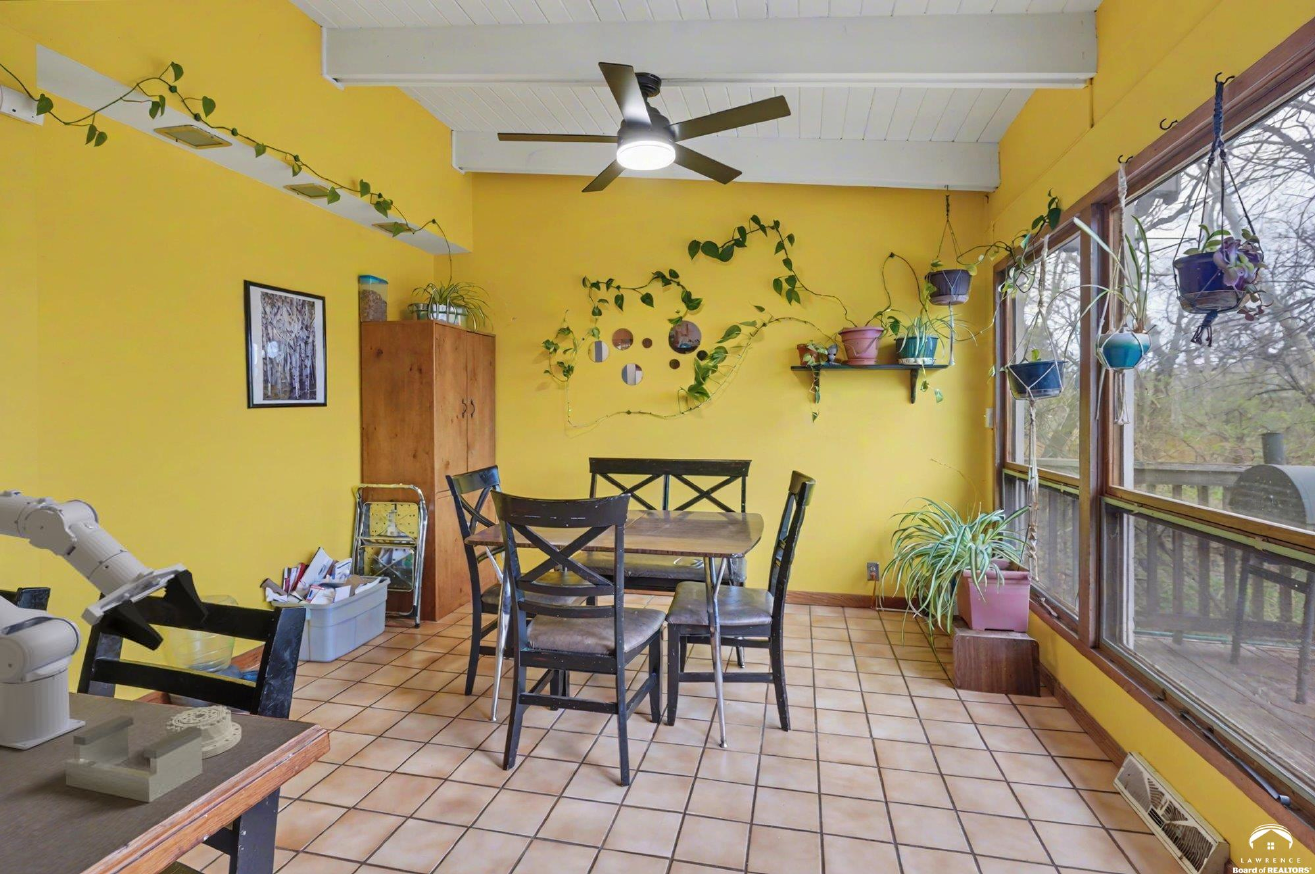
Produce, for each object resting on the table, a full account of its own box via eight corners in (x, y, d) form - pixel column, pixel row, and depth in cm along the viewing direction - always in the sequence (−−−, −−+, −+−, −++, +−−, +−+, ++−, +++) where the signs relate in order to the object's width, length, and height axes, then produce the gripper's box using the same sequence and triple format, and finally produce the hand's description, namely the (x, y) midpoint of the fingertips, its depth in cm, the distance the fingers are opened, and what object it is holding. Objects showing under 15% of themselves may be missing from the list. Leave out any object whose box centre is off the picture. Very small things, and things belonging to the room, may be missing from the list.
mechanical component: (136, 760, 93) (199, 769, 91) (135, 728, 93) (199, 736, 91) (199, 727, 103) (258, 734, 101) (199, 697, 103) (257, 704, 101)
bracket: (66, 785, 86) (64, 739, 86) (122, 757, 93) (121, 715, 93) (149, 802, 83) (148, 755, 83) (202, 772, 90) (201, 728, 89)
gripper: (69, 569, 90) (148, 640, 90) (166, 529, 104) (235, 590, 104) (49, 604, 92) (125, 673, 92) (146, 560, 106) (213, 620, 106)
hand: (182, 631), depth 98 cm, fingers open, 7 cm apart
